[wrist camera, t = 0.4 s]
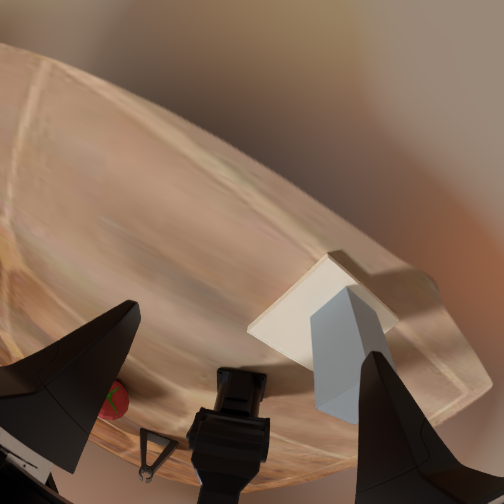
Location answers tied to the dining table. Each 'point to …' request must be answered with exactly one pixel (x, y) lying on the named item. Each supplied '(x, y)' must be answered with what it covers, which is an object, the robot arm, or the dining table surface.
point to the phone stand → (163, 456)
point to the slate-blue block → (343, 352)
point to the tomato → (115, 403)
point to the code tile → (311, 310)
